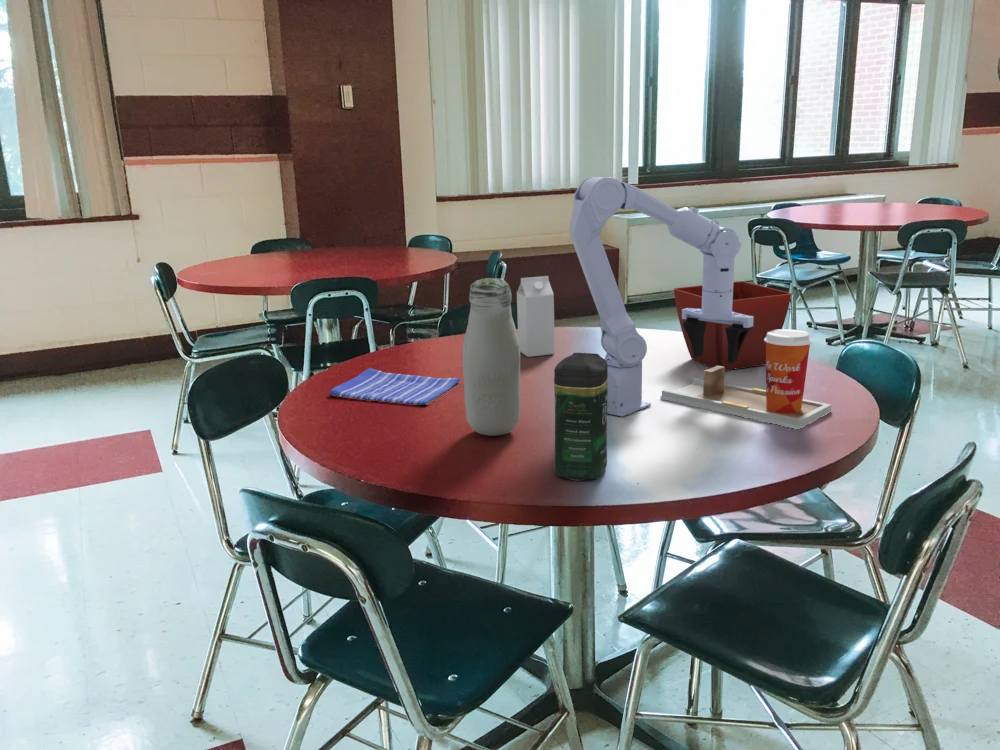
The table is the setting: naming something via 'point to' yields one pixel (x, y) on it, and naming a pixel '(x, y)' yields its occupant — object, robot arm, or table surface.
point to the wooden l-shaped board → (739, 394)
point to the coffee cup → (786, 369)
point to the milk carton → (535, 316)
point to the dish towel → (394, 387)
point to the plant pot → (747, 301)
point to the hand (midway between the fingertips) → (715, 358)
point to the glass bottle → (491, 360)
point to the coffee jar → (581, 416)
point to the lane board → (692, 391)
